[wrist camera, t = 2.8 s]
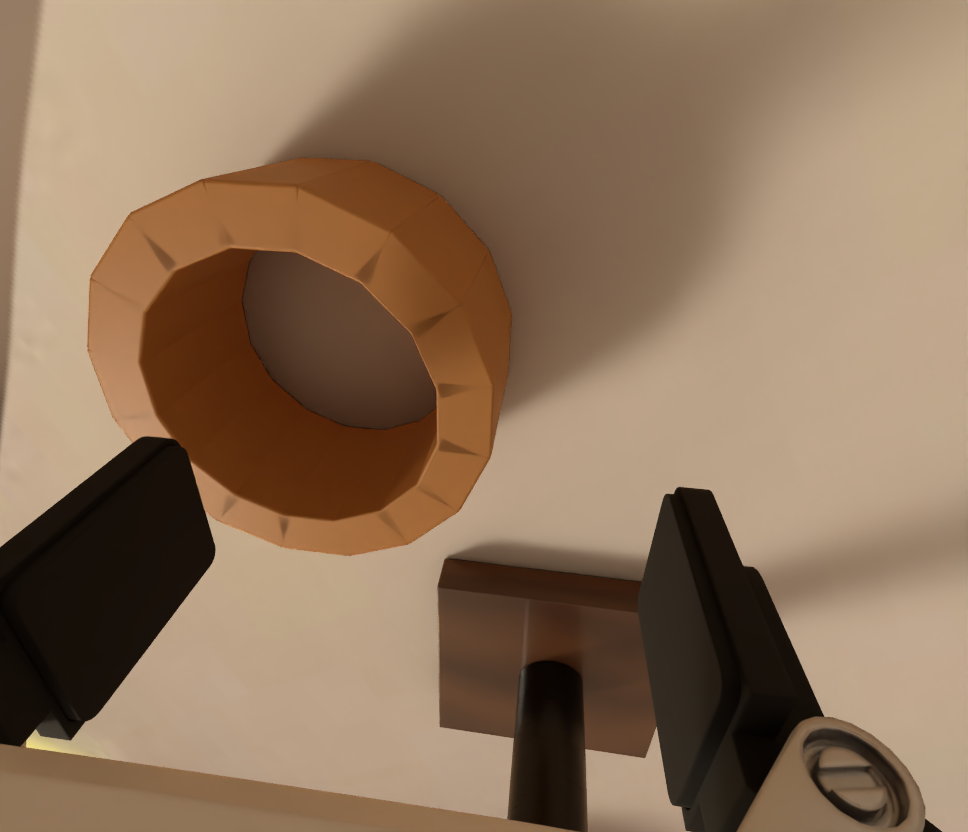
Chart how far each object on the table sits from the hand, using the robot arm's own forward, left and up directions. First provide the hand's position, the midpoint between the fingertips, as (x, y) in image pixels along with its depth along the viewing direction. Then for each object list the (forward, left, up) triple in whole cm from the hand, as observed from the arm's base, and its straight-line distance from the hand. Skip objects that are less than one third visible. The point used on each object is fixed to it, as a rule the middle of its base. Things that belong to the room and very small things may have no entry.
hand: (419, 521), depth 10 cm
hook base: (+15, +4, -8) cm, 17 cm away
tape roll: (0, -4, -8) cm, 9 cm away
